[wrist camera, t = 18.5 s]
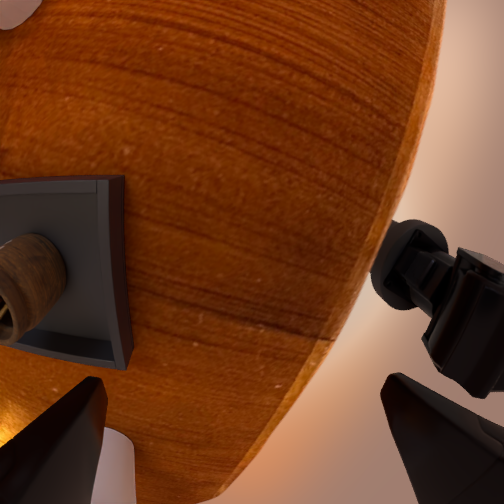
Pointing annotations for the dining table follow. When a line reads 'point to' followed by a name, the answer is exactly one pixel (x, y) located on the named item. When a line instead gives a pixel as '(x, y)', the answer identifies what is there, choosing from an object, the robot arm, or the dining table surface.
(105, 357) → the baking tray
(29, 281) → the utensil holder
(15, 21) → the shot glass
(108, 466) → the foam cup
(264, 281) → the dining table surface
